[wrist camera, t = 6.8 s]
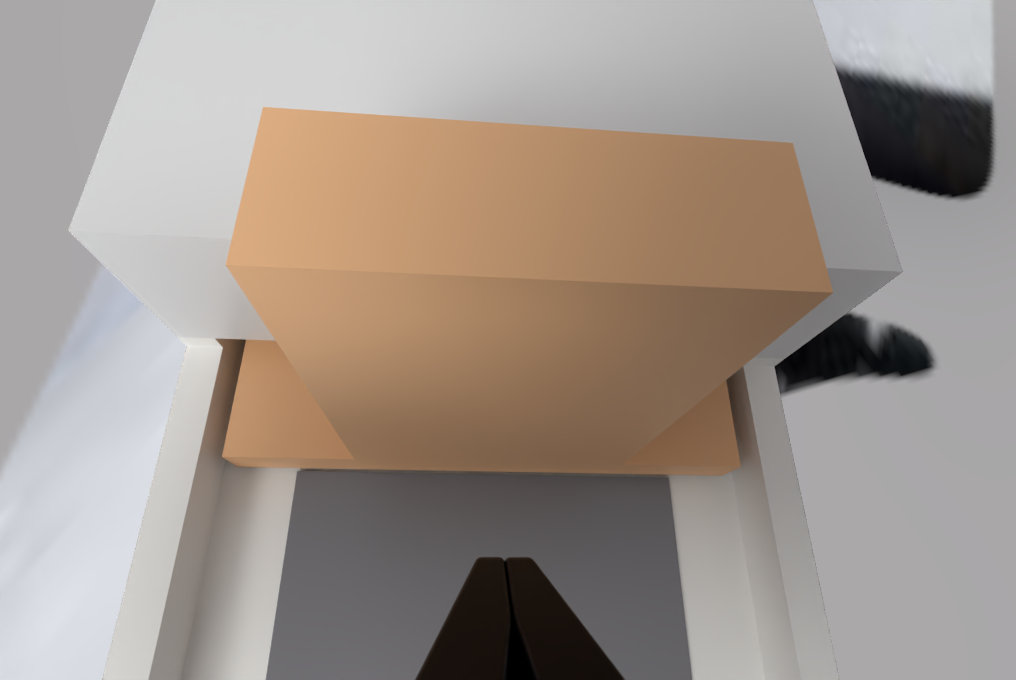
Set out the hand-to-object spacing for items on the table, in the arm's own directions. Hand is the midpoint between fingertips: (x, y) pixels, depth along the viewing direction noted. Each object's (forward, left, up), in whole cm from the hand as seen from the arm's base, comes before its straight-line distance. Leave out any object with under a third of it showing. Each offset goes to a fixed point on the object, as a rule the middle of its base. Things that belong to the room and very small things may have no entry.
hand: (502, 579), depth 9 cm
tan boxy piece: (+5, +5, -4) cm, 8 cm away
